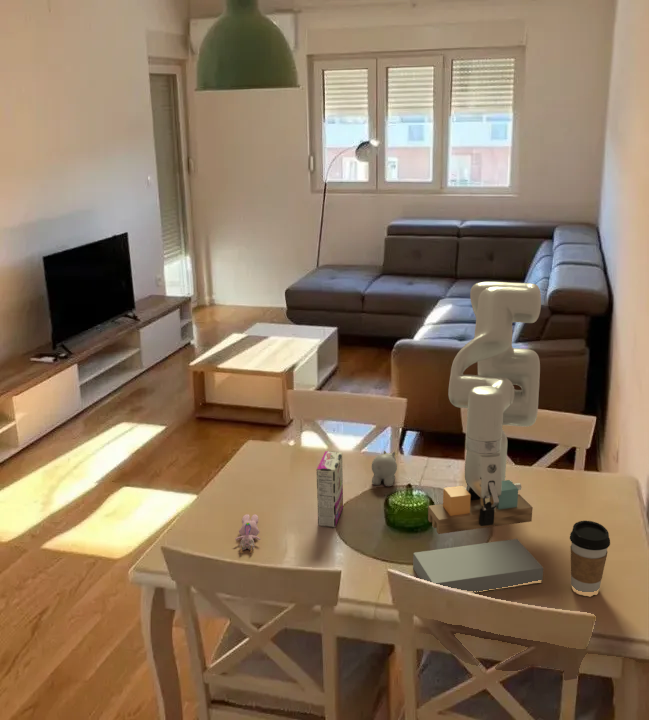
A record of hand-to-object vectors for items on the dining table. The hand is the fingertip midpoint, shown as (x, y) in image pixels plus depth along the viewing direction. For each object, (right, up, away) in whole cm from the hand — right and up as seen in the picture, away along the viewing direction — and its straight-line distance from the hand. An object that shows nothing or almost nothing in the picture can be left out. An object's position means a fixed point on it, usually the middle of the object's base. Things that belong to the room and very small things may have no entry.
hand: (479, 516), depth 178 cm
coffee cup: (+23, -16, -1) cm, 28 cm away
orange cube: (-6, +2, -2) cm, 6 cm away
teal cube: (+5, +3, 0) cm, 6 cm away
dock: (0, -14, +4) cm, 15 cm away
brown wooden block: (0, -1, 0) cm, 1 cm away
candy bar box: (-33, -7, +31) cm, 46 cm away
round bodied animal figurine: (-17, 0, +53) cm, 55 cm away
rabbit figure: (-54, -10, +21) cm, 58 cm away
